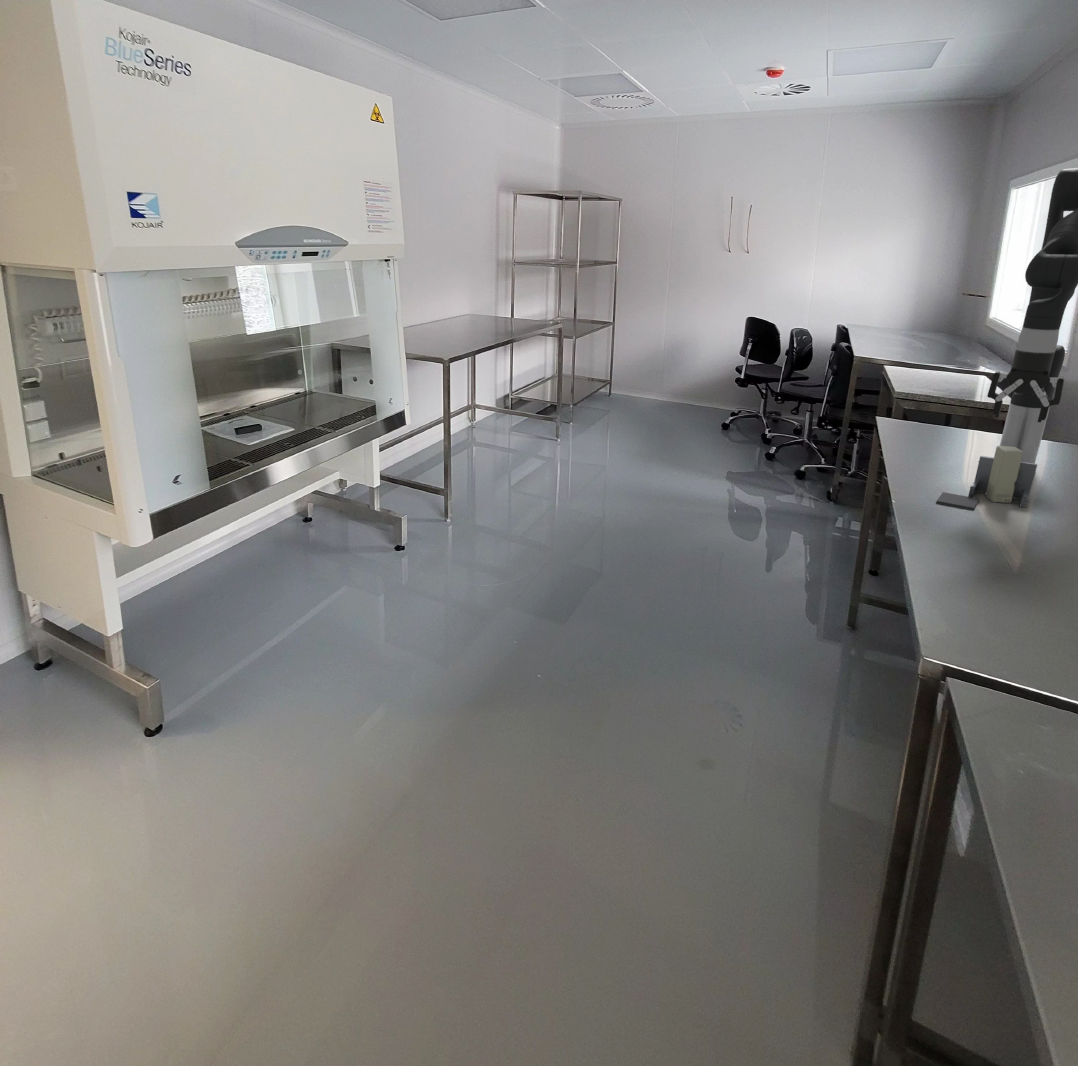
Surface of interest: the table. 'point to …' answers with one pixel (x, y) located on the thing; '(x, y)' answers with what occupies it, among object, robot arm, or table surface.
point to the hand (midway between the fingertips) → (1017, 419)
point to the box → (1004, 474)
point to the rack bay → (1022, 481)
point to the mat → (958, 501)
